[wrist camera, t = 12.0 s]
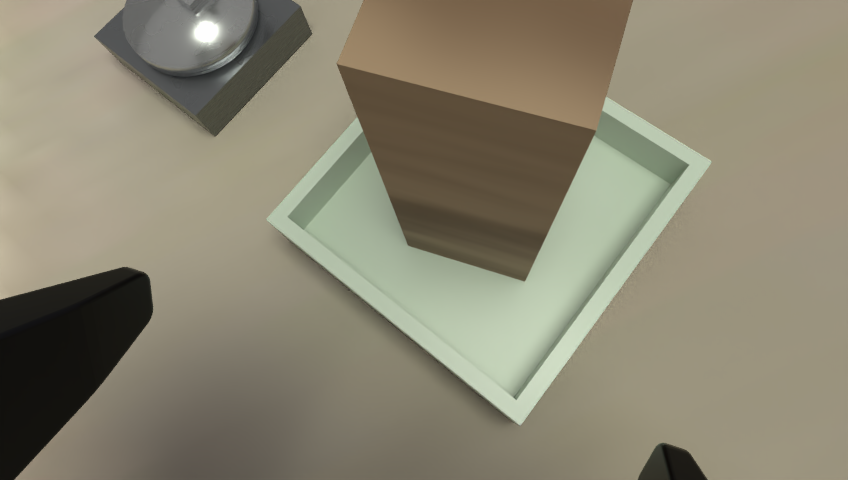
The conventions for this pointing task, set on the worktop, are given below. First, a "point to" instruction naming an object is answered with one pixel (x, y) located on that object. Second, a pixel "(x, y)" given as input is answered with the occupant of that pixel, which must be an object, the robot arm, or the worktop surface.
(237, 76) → the crank base
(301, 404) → the worktop surface
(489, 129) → the block
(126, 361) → the worktop surface
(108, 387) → the worktop surface
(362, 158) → the tray
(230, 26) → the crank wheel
